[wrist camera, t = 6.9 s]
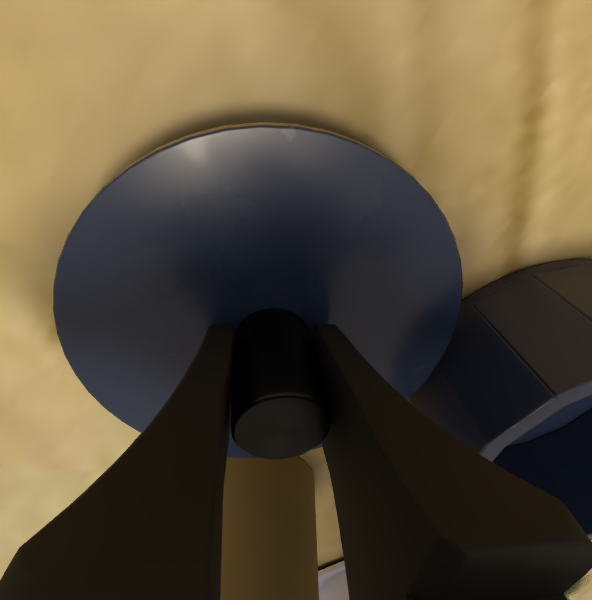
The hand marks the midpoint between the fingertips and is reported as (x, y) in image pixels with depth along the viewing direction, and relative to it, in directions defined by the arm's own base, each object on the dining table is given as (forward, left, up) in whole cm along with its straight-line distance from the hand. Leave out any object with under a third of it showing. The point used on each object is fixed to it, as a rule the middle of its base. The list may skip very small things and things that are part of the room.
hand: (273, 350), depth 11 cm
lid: (0, 0, -1) cm, 1 cm away
